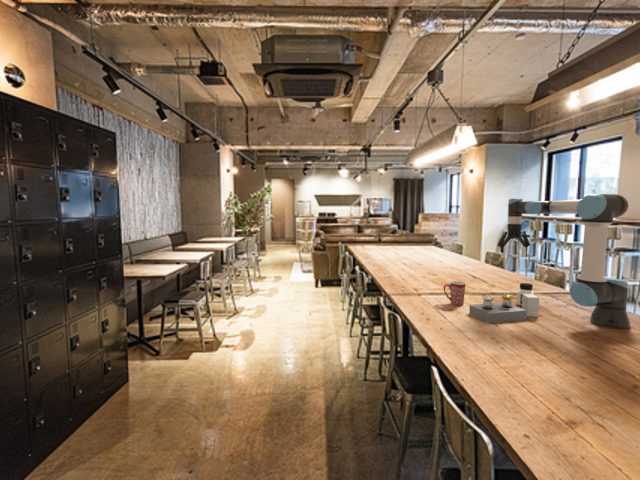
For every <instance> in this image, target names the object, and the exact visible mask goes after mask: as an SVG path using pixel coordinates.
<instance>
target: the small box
mask: <svg viewBox="0 0 640 480" xmlns="http://www.w3.org/2000/svg"><path fill="white" fill-rule="evenodd" d="M539 305H540V297H538V296H537V295H535V294H534V295H533V294H522V305H521V309H524V310H526V317H539V313H540V312H539V311H540V308H539V307H540V306H539Z"/></svg>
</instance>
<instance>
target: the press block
mask: <svg viewBox="0 0 640 480" xmlns="http://www.w3.org/2000/svg"><path fill="white" fill-rule="evenodd" d="M468 311H469V314H470V315H471V316H473V317H476V318H478V319H480V320H481V321H484V322H486V323H489V324H495V323H503V322H515V321H524V320H527V315H526V310H524V309H522V307H521V308H520V307H518V306H515V305H512V304H511V308H504V307H503V301H502V302H501V301H500V302H492V310H486V309H483V303H476V304H469V310H468Z"/></svg>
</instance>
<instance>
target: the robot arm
mask: <svg viewBox="0 0 640 480" xmlns="http://www.w3.org/2000/svg"><path fill="white" fill-rule="evenodd" d="M523 200H524V199H523V198H509V200H508V203H507V207H508V209H507V223H508V224H507V231H502V234H501V236H500V239H499V240H498V243H497V247H499V249H500V250H499V252H500V254H501V255H500V258H502V259H506V246H507V244H508V243H509V242H510V240H512V239H517V240H518V242H519V243H520V244H521V245H522V246H521V258H526V257H527V256H526V253H527V249H528V247H530V246H531V242H530V241H529V239H528V236H527V231H525V230H522V228H523V227H522V225H523V224H522V223H523V215H546V214H547V215H552V214H555V215H556V214H557V215H558V214H561V215H576V214H577V215H578V217H579V218H580V220H581V224H582V225H583V226H584V233H583V242H582V243H583V244H582V245H583V246H582V256H581V257H582V258H581V268H580V269H581V270H580V274H579V275H577V276H576V281H575V282H574V283H573V284H572V285H570V287H569V295H570V298H571V299H572V300H573V301H574V302H575V304H577V305H579V306H582V307H594V309H593V311H592V313H591V315H590V319H589V320H590V322H591V323H592V324H595V325H598V326H601V327H605V328H610V329H618V330H620V329H621V330H622V329H623V330H625V329H630V327H631V321H630V317H629V315H628V312H627V304H628V293H629V284H628V282H627V280H623V279H618V278H612V277H605V276H604V274H605V264H606V263H605V262H606V252H607V240H608V229H609V226H610V225H612V224H613V223H614V219H616V218H620V217H622V216H623V215H625V214H626V213H627V211H628V209H629V202H628V200H627V198H625V197H624V196H623V195H622V194H621V195H620V194H618V193H617V194H616V193H608V194H607V193H593V194H588V195H585V196H583V197H582V198H581V199H568V200H544V201H543V200H541V201H540V200H537V201H536V200H530V201H529V200H527V201H523Z"/></svg>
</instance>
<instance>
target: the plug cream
mask: <svg viewBox="0 0 640 480" xmlns="http://www.w3.org/2000/svg"><path fill="white" fill-rule="evenodd" d="M482 300H483V301H482V302H483V303H482V304H483V309H486V310H492V303H493V301H494V296H491V295H483V296H482Z"/></svg>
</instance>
